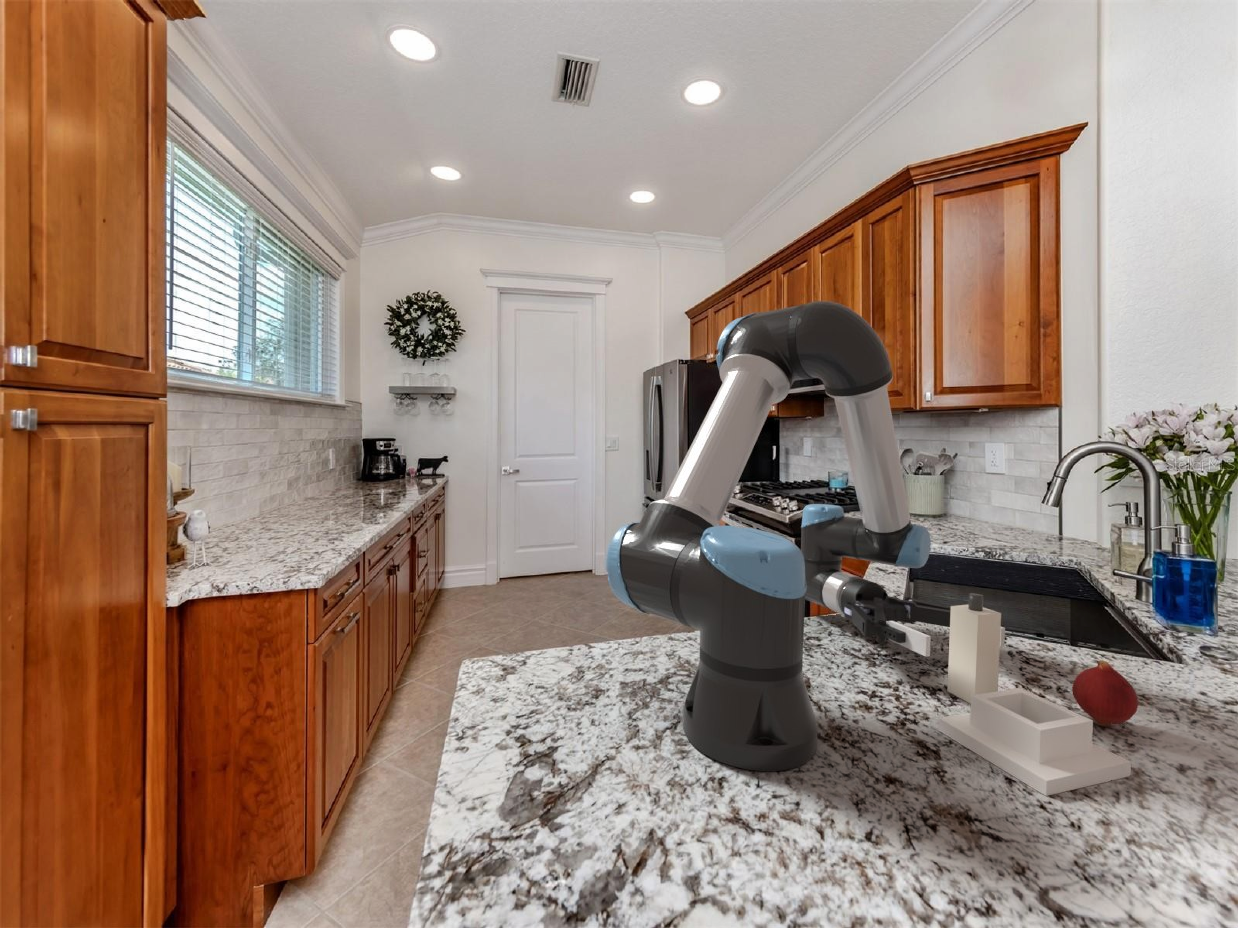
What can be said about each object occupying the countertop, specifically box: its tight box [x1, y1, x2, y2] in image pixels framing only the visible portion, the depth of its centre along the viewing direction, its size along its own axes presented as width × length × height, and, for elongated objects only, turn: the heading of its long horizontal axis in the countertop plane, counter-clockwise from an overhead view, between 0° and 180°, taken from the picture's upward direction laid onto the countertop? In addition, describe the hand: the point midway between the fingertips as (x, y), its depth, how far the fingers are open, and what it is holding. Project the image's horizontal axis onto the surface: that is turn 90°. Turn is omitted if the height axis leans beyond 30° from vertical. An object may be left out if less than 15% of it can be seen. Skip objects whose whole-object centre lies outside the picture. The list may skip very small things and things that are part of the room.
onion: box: [1071, 660, 1139, 727], centre depth 63 cm, size 6×6×8 cm
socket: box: [937, 687, 1132, 797], centre depth 57 cm, size 12×12×5 cm
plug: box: [946, 592, 1002, 704], centre depth 70 cm, size 4×4×14 cm
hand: (966, 642), depth 72 cm, fingers open, 13 cm apart
